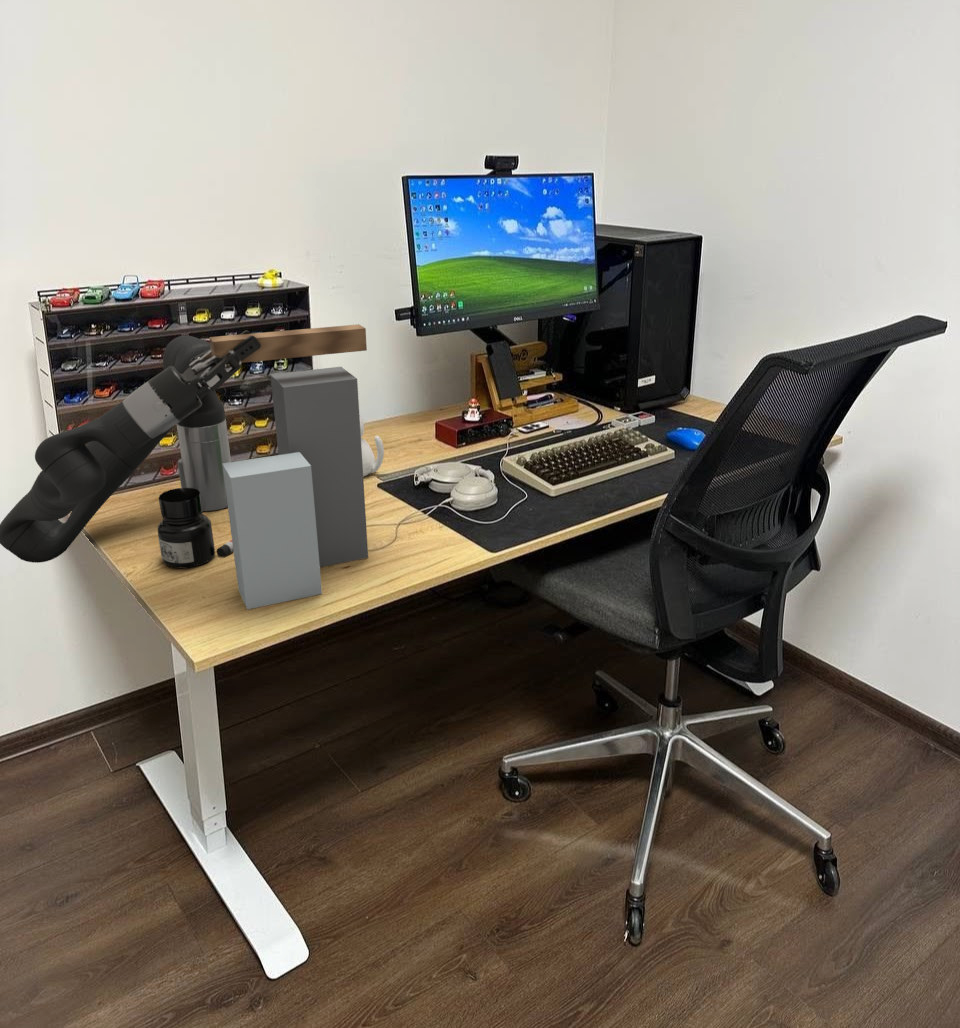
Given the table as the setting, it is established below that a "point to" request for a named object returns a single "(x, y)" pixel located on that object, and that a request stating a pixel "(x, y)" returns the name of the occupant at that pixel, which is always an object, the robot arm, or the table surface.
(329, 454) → the charcoal stand
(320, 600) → the table surface
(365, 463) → the cat figurine
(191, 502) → the ink bottle
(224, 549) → the marker
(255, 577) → the blue-grey step
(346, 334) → the walnut bar
